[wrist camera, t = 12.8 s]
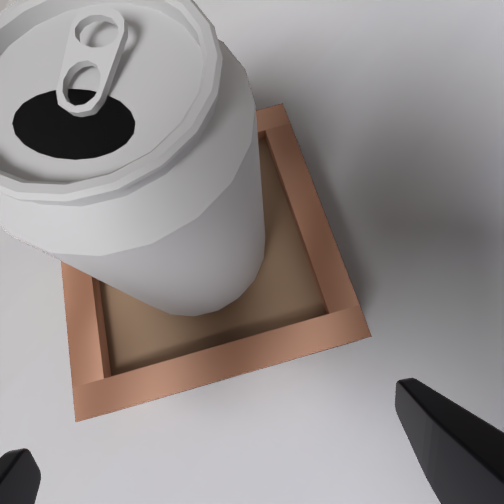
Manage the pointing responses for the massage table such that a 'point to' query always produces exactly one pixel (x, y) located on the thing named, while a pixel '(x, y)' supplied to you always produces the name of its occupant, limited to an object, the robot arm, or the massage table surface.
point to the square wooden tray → (229, 317)
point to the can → (131, 148)
